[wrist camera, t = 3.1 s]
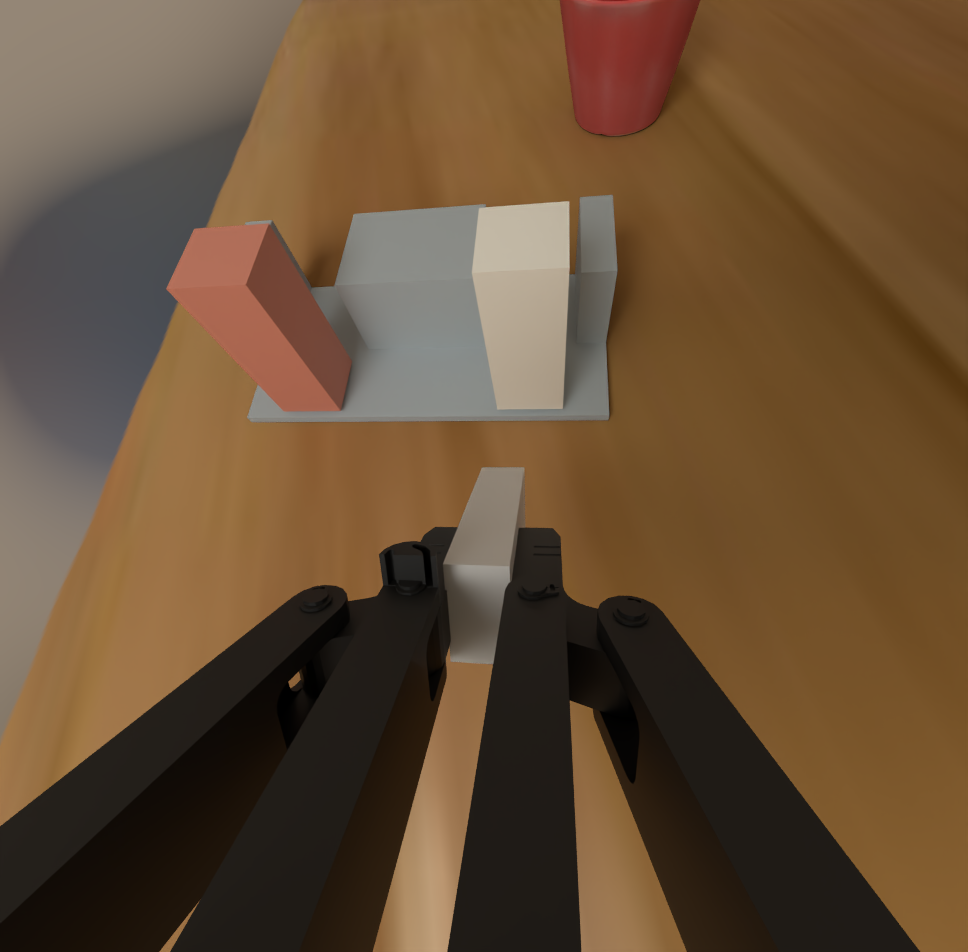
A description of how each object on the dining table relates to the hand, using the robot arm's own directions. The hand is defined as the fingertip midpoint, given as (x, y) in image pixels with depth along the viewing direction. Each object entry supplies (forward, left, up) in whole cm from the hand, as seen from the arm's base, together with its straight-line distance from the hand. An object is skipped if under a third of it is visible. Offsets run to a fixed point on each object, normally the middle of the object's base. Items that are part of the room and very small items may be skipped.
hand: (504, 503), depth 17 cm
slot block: (+7, -16, -11) cm, 21 cm away
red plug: (+15, -12, -11) cm, 22 cm away
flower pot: (-7, -43, -11) cm, 45 cm away
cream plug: (0, -12, -11) cm, 17 cm away
